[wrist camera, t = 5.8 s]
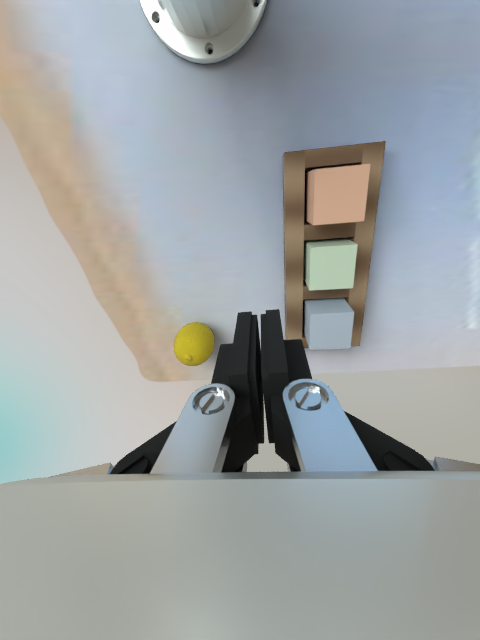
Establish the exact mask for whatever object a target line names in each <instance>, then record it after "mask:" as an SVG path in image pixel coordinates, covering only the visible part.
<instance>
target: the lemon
mask: <svg viewBox="0 0 480 640" xmlns="http://www.w3.org/2000/svg"><path fill="white" fill-rule="evenodd" d="M214 343H215V340H214V335H213V333H212V331H211V329H210V328H209V327H208V326H206V325H205V324H202V323H198V322H193V323H189V324H187V325H185V326H184V327H183V328H182V329H181V330H180V331H179V332H178V334H177V336H176V338H175V342H174V352H175V355H176V357H177V358H178V360H179V361H180V362H182V363H183V364H185V365H188V366H197V365H200V364H202V363H203V362H205V361H206V360H207V359H208V358H209V356H210V355H211V353H212V351H213V349H214Z"/></svg>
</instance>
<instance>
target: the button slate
mask: <svg viewBox="0 0 480 640" xmlns="http://www.w3.org/2000/svg"><path fill="white" fill-rule="evenodd" d="M353 320H354V311H353V310H352V308H351V307H350V306H349V304H348V303H347V302H346V300H345V299H344V298H343V297H342V298H324V299H305V300H304V333H305V337H306V340H307V344H308V347H309V350H324V349H350V347H351V338H352V329H353Z"/></svg>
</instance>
